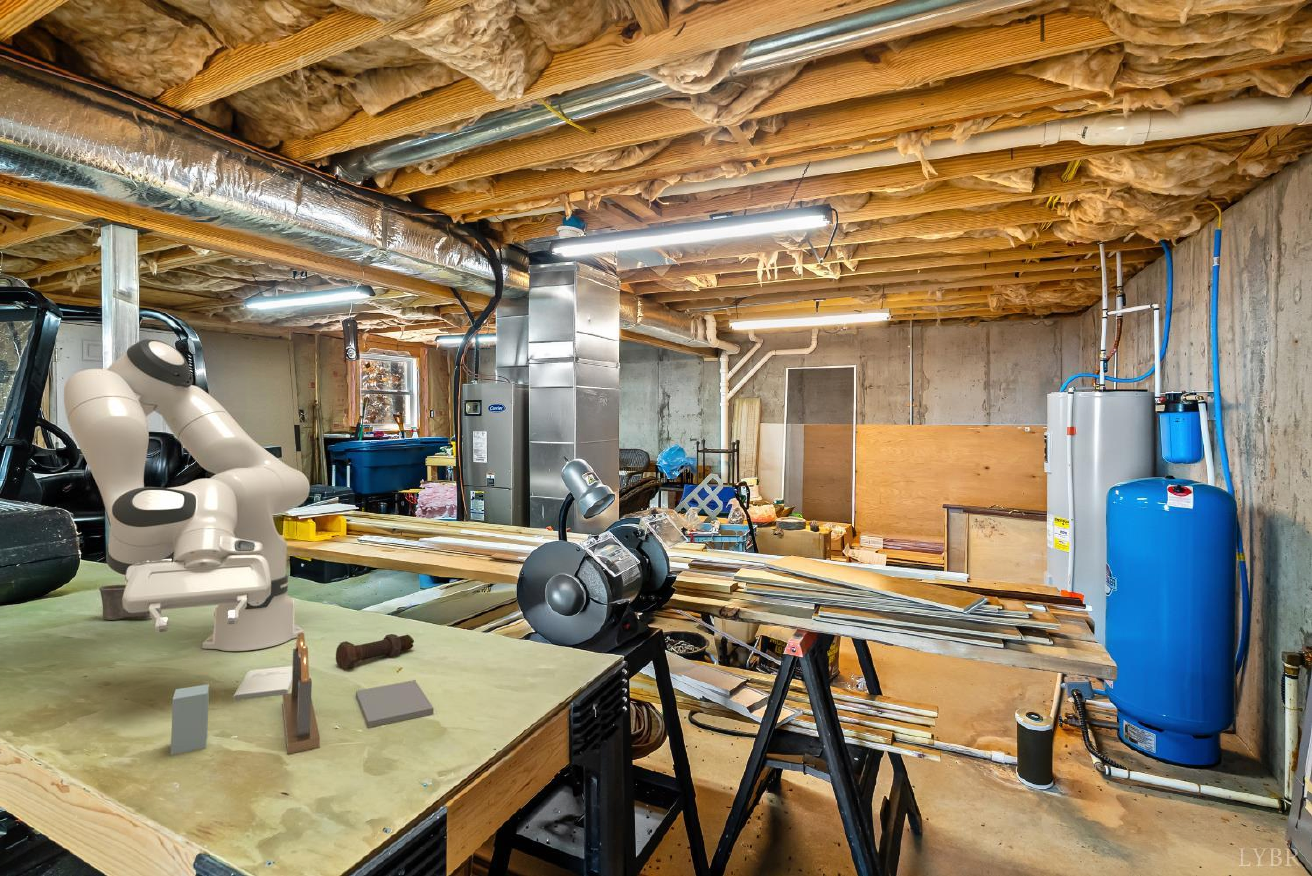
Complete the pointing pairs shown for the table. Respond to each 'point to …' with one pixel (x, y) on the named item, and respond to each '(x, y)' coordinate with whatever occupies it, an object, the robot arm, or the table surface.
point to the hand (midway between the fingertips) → (198, 626)
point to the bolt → (371, 650)
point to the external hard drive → (265, 683)
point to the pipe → (117, 604)
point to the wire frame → (300, 704)
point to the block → (189, 719)
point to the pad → (393, 703)
